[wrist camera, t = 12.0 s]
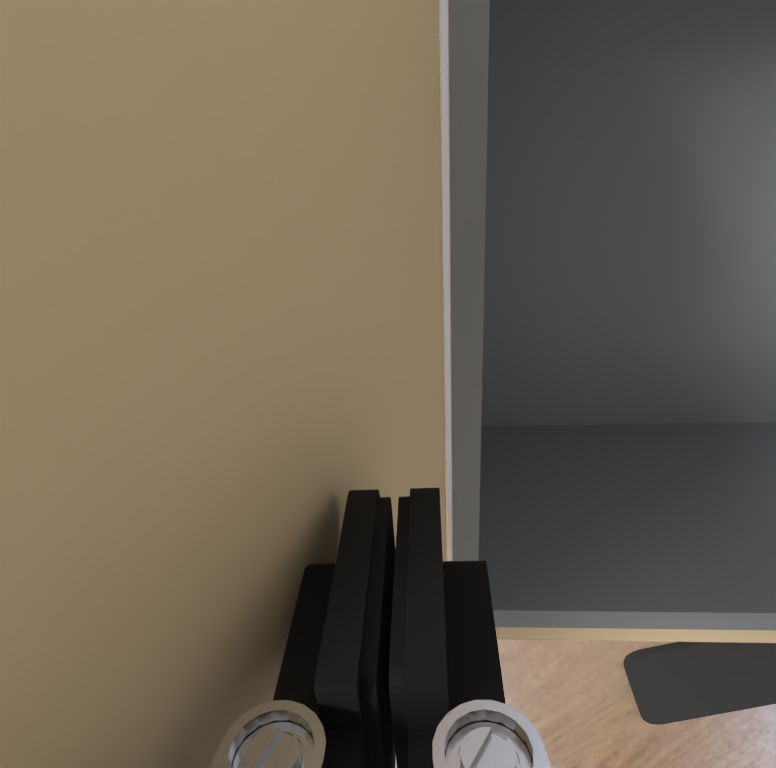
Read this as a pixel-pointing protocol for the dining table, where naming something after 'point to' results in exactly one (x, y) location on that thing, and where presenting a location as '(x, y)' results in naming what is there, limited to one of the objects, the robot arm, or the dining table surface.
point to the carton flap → (201, 346)
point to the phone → (701, 679)
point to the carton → (612, 314)
